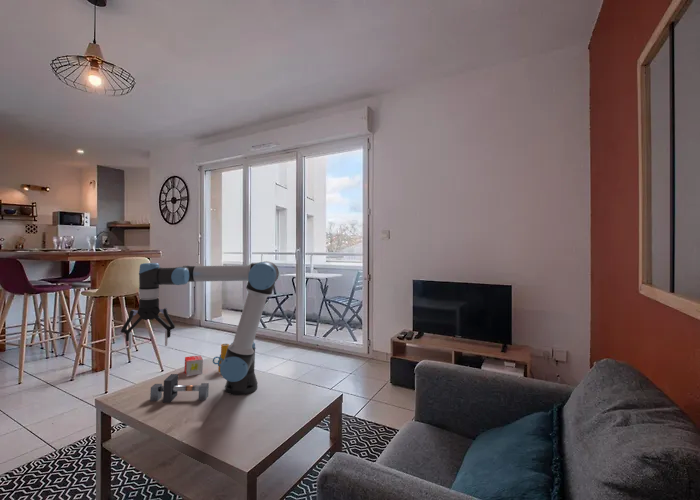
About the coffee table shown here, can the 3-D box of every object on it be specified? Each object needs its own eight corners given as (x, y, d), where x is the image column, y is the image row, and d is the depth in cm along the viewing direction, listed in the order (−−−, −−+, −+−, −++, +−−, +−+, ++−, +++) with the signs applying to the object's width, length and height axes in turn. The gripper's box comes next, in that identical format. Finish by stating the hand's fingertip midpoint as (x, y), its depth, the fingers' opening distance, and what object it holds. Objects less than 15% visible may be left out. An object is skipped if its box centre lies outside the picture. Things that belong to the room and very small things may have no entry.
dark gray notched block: (177, 394, 149) (178, 374, 149) (170, 402, 142) (171, 380, 142) (170, 394, 149) (171, 374, 149) (163, 402, 141) (163, 380, 141)
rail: (209, 397, 151) (209, 381, 151) (204, 405, 144) (204, 388, 144) (155, 398, 148) (156, 382, 148) (148, 406, 141) (149, 389, 141)
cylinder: (226, 376, 176) (227, 348, 176) (208, 374, 178) (210, 346, 178) (238, 368, 188) (239, 342, 188) (222, 366, 190) (223, 340, 190)
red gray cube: (186, 376, 174) (186, 361, 174) (184, 371, 181) (184, 357, 181) (202, 373, 179) (203, 359, 179) (200, 369, 185) (200, 355, 185)
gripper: (181, 295, 152) (181, 341, 152) (117, 298, 143) (117, 347, 143) (180, 298, 145) (179, 345, 145) (112, 301, 136) (112, 352, 136)
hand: (148, 346), depth 144 cm, fingers open, 13 cm apart
